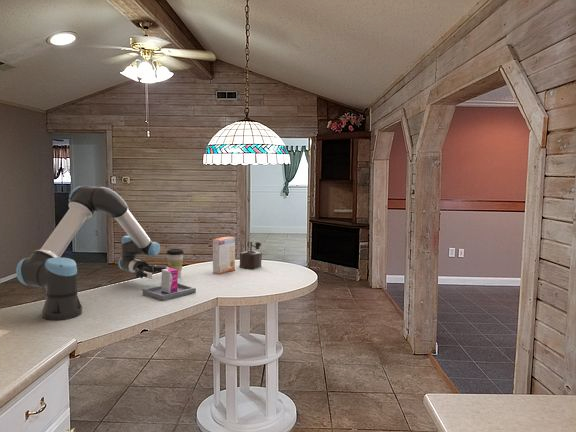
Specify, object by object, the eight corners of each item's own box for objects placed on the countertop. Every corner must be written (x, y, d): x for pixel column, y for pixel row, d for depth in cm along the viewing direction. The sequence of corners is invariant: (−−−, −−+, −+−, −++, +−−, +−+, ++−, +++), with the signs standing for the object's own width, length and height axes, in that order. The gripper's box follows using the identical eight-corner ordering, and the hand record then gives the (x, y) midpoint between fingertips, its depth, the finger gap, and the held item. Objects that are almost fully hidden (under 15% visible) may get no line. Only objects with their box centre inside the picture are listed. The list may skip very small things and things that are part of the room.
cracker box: (228, 269, 285) (228, 235, 283) (235, 270, 281) (235, 237, 279) (211, 272, 274) (212, 238, 271) (219, 274, 270) (219, 239, 268)
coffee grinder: (238, 267, 290) (238, 239, 288) (248, 264, 300) (249, 237, 298) (258, 271, 282) (258, 242, 280) (268, 267, 291) (269, 240, 289)
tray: (162, 301, 214) (162, 295, 214) (142, 294, 224) (142, 289, 224) (195, 292, 230) (195, 287, 230) (175, 286, 240) (175, 282, 240)
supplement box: (169, 294, 223) (169, 271, 222) (160, 292, 226) (160, 269, 225) (178, 291, 228) (178, 269, 227) (169, 289, 231) (169, 267, 230)
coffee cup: (179, 278, 258) (179, 252, 257) (163, 277, 260) (163, 251, 259) (186, 274, 268) (186, 249, 266) (171, 273, 270) (171, 248, 268)
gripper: (159, 270, 253) (183, 277, 240) (117, 278, 234) (141, 285, 221) (159, 257, 253) (183, 263, 239) (117, 263, 233) (141, 270, 220)
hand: (163, 274), depth 230 cm, fingers open, 13 cm apart
